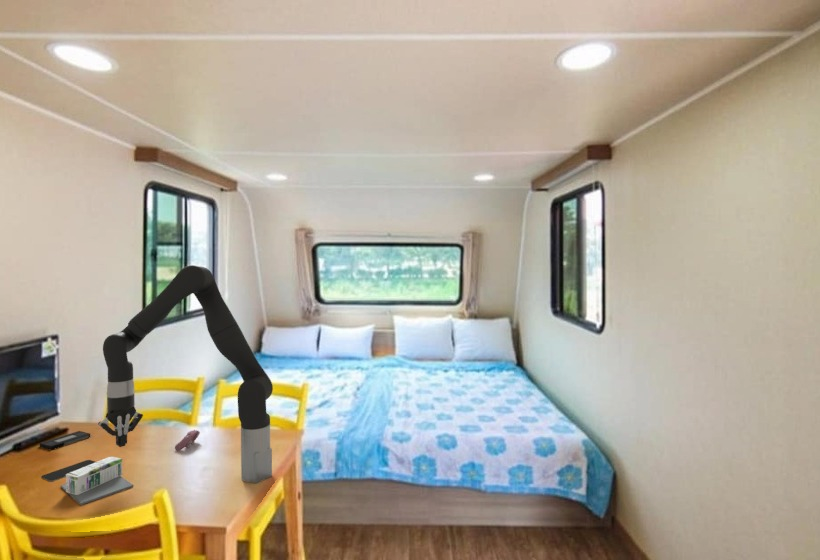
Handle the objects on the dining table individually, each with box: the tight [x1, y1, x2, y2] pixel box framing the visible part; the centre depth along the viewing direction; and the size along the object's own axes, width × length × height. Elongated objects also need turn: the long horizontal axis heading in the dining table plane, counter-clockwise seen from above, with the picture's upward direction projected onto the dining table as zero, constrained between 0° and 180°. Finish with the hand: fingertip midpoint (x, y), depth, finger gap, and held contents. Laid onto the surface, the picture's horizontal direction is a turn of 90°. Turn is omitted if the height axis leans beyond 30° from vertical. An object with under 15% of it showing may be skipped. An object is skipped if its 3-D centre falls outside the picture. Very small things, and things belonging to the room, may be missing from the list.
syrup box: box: [65, 456, 124, 495], centre depth 144 cm, size 6×6×14 cm
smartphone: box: [40, 459, 96, 482], centre depth 155 cm, size 7×1×15 cm
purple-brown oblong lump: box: [174, 429, 201, 452], centre depth 176 cm, size 10×5×7 cm, turn 179°
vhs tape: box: [39, 430, 91, 451], centre depth 180 cm, size 8×14×2 cm, turn 156°
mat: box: [60, 475, 134, 506], centre depth 143 cm, size 18×14×1 cm
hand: (121, 445), depth 148 cm, fingers closed
